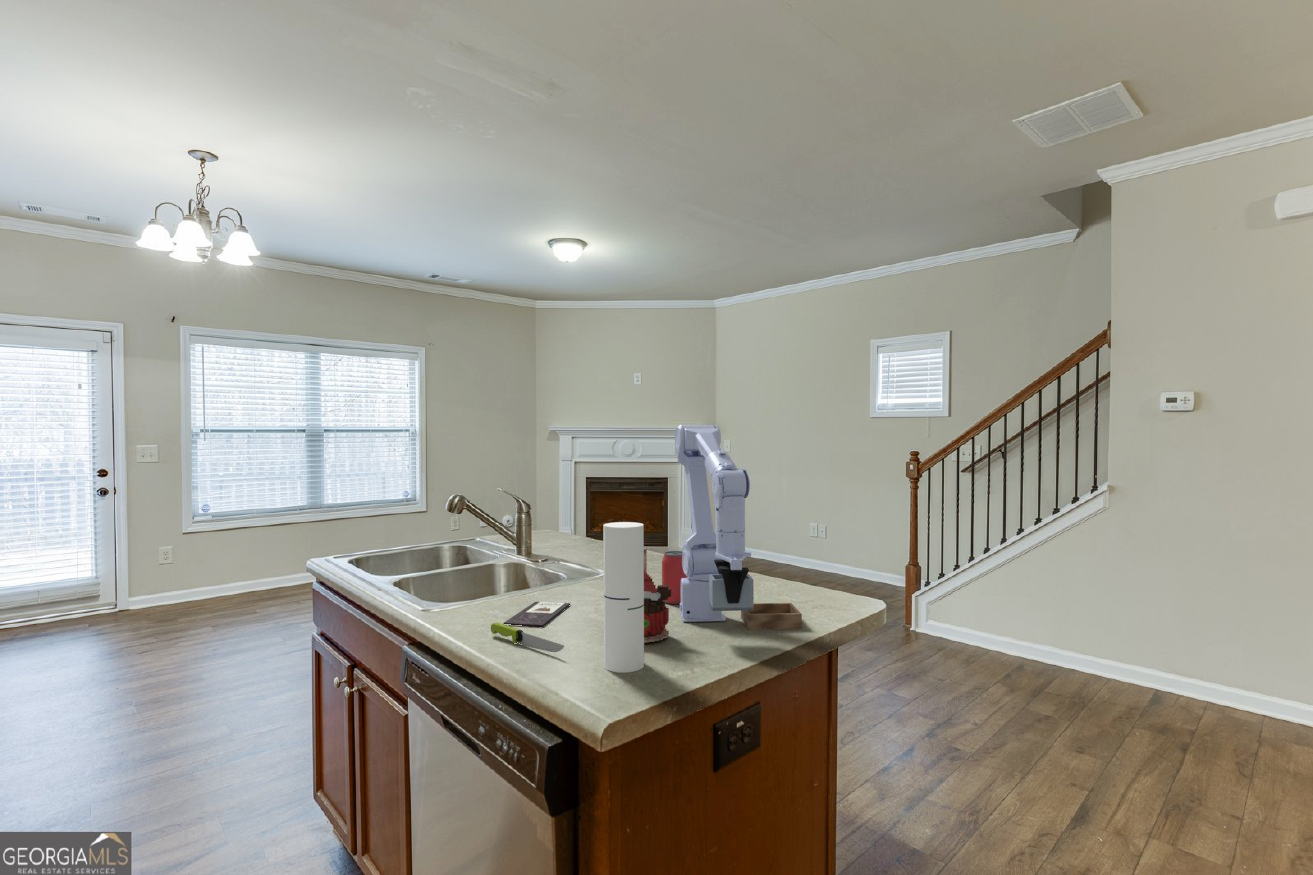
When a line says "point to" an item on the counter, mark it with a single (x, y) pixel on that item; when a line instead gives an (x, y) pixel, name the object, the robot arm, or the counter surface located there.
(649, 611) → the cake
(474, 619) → the counter surface
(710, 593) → the grey crate
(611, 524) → the cylindrical container
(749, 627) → the walnut crate
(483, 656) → the counter surface
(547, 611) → the chocolate bar
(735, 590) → the robot arm
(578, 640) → the counter surface
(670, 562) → the beer can
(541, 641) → the kitchen knife
